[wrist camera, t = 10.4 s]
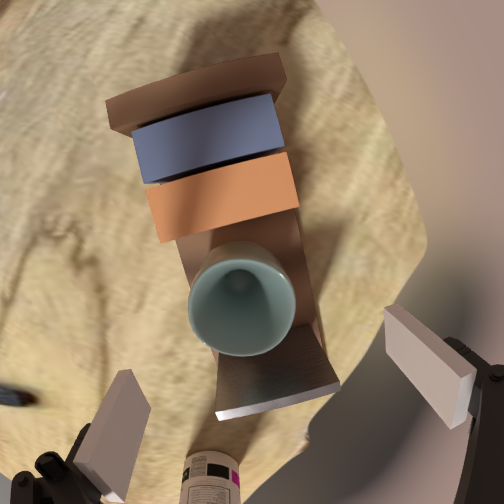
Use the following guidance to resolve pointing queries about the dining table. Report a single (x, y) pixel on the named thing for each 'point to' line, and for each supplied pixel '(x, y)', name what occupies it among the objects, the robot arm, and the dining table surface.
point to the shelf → (284, 222)
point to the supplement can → (210, 479)
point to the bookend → (274, 376)
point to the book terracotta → (222, 196)
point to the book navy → (208, 139)
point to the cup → (241, 299)
